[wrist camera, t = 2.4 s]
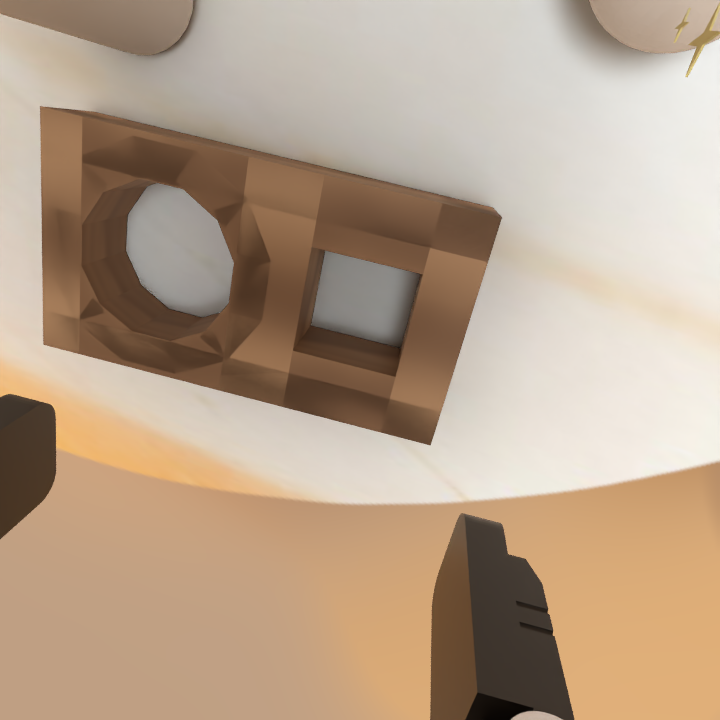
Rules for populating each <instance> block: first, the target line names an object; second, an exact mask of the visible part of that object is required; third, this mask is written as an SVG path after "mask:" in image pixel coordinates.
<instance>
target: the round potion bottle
mask: <svg viewBox="0 0 720 720" xmlns="http://www.w3.org/2000/svg"><path fill="white" fill-rule="evenodd" d="M589 2H590V5H591V8H592V10H593V12H594V14H595V16H596V18H597V19H598V21H599V22H600V23H601V25H602V26H603V27H604V29H605V30H606V31H607V32H608V33H609V34H610V35H611V36H612V37H614V38H615V39H617V40H618V41H619V42H621V43H623V44H625V45H627V46H629V47H631V48H634V49H637V50H641V51H644V52H650V53H676V52H681V51H687V50H691V49H695V48H696V51H695V53H694V56H693V58H692V61H691V63H690V66H689V69H688V71H687V74H686V76H685V77H688V75H689V73H690V72H691V70H692V68H693V66H694V64H695V62H696V60H697V59H698V57H699V55H700V53H701V51H702V49H703V47H704V46H705V45H706V44H709V43H711V42H713V41H715V40H717V39H719V38H720V0H589Z"/></svg>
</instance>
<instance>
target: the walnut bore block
mask: <svg viewBox="0 0 720 720" xmlns="http://www.w3.org/2000/svg"><path fill="white" fill-rule="evenodd" d="M40 124H41V196H42V268H43V341H44V345H47V346H51V347H55V348H59V349H63V350H66V351H70V352H74V353H78V354H82V355H86V356H90V357H93V358H97V359H101V360H105V361H109V362H113V363H116V364H120V365H124V366H128V367H132V368H136V369H139V370H143V371H147V372H151V373H155V374H159V375H162V376H166V377H170V378H174V379H178V380H182V381H186V382H189V383H193V384H197V385H201V386H205V387H209V388H212V389H216V390H220V391H224V392H228V393H232V394H235V395H239V396H243V397H247V398H251V399H255V400H259V401H262V402H266V403H270V404H274V405H278V406H282V407H285V408H289V409H293V410H297V411H301V412H305V413H308V414H312V415H316V416H320V417H324V418H328V419H331V420H335V421H339V422H343V423H347V424H351V425H355V426H358V427H362V428H366V429H370V430H374V431H378V432H381V433H385V434H389V435H393V436H397V437H401V438H404V439H408V440H412V441H416V442H420V443H424V444H427V445H431V442H432V439H433V436H434V432H435V429H436V426H437V423H438V420H439V416H440V413H441V410H442V407H443V404H444V401H445V397H446V394H447V391H448V388H449V385H450V381H451V378H452V375H453V372H454V369H455V365H456V362H457V359H458V356H459V353H460V349H461V346H462V343H463V340H464V337H465V333H466V330H467V327H468V324H469V321H470V318H471V314H472V311H473V308H474V305H475V302H476V298H477V295H478V292H479V289H480V286H481V282H482V279H483V276H484V273H485V270H486V266H487V263H488V260H489V257H490V254H491V250H492V247H493V244H494V241H495V238H496V235H497V231H498V228H499V225H500V222H501V219H502V217H501V216H500V215H499V214H498V213H497V212H496V211H495V209H494V208H492V207H488V206H484V205H480V204H476V203H471V202H467V201H463V200H459V199H455V198H451V197H446V196H442V195H438V194H434V193H430V192H426V191H421V190H417V189H413V188H409V187H405V186H401V185H396V184H392V183H388V182H384V181H380V180H376V179H371V178H367V177H363V176H359V175H355V174H351V173H346V172H342V171H338V170H334V169H330V168H326V167H321V166H317V165H313V164H309V163H305V162H301V161H296V160H292V159H288V158H284V157H280V156H276V155H271V154H267V153H263V152H259V151H255V150H251V149H246V148H242V147H238V146H234V145H230V144H226V143H222V142H217V141H213V140H209V139H205V138H201V137H197V136H192V135H188V134H184V133H180V132H176V131H172V130H167V129H163V128H159V127H155V126H151V125H147V124H142V123H138V122H134V121H130V120H126V119H122V118H117V117H113V116H109V115H105V114H101V113H97V112H90V111H81V110H71V109H61V108H51V107H42V106H40ZM155 183H161V184H165V185H169V186H173V187H177V188H181V189H184V190H185V191H186V192H187V193H188V194H189V195H190V196H191V197H192V198H193V199H195V200H196V201H197V202H198V203H199V204H200V205H201V206H202V207H203V208H204V209H206V210H207V211H208V212H209V213H210V214H211V215H212V216H213V217H214V218H215V219H217V220H218V223H219V225H220V228H221V231H222V233H223V236H224V238H225V241H226V243H227V246H228V249H229V251H230V254H231V256H232V259H233V261H234V267H233V275H232V283H231V290H230V298H229V304H228V305H227V306H226V307H225V308H224V309H223V311H222V312H221V313H217V314H214V315H210V316H207V317H203V318H201V317H197V316H194V315H190V314H186V313H182V312H178V311H174V310H170V309H168V308H167V307H166V306H165V305H163V304H162V303H161V302H160V301H159V300H158V299H156V298H155V297H154V296H153V295H152V294H151V293H149V292H148V291H147V290H146V289H145V288H144V287H142V286H141V284H140V282H139V280H138V277H137V275H136V273H135V271H134V269H133V266H132V264H131V262H130V260H129V258H128V255H127V253H126V232H127V215H128V213H129V212H130V210H131V209H132V207H133V206H134V204H135V203H136V201H137V200H138V199H139V197H140V196H141V194H142V193H143V191H144V190H145V188H146V187H147V186H149V185H152V184H155ZM325 250H326V251H330V252H334V253H338V254H342V255H346V256H350V257H354V258H358V259H362V260H366V261H370V262H374V263H378V264H383V265H387V266H391V267H395V268H399V269H403V270H407V271H411V272H415V273H419V274H421V275H420V278H419V282H418V286H417V290H416V293H415V297H414V301H413V305H412V308H411V312H410V316H409V320H408V323H407V327H406V331H405V335H404V338H403V342H402V346H401V348H397V347H393V346H389V345H385V344H381V343H377V342H373V341H369V340H365V339H361V338H357V337H354V336H350V335H346V334H342V333H338V332H334V331H330V330H326V329H322V328H318V327H314V326H311V321H312V316H313V310H314V305H315V300H316V295H317V290H318V284H319V279H320V274H321V269H322V264H323V258H324V253H325Z"/></svg>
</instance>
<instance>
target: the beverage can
mask: <svg viewBox="0 0 720 720" xmlns="http://www.w3.org/2000/svg"><path fill="white" fill-rule="evenodd" d="M192 12H193V0H0V14H3V15H6V16H9V17H13V18H16V19H19V20H23V21H26V22H29V23H32V24H36V25H39V26H42V27H46V28H49V29H52V30H55V31H59V32H62V33H65V34H68V35H72V36H75V37H78V38H82V39H85V40H88V41H91V42H95V43H98V44H101V45H105V46H108V47H111V48H114V49H118V50H121V51H124V52H128V53H132V54H135V55H154V54H157V53H159V52H162V51H164V50H167V49H168V48H169V47H171V46H172V45H173V44H174V43H176V42H177V41H178V40H179V39H180V37H181V36H182V34H183V33H184V31H185V30H186V28H187V27H188V24H189V21H190V18H191V15H192Z"/></svg>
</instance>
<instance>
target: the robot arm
mask: <svg viewBox="0 0 720 720" xmlns="http://www.w3.org/2000/svg"><path fill="white" fill-rule="evenodd" d="M55 474H56V417H55V411H54V408H53V407H52V406H51V405H50V404H47V403H43V402H39V401H36V400H32V399H28V398H24V397H20V396H17V395H13V394H8V395H4V396H2V397H0V539H1V538H2V537H3V536H4V535H5V534H7V533H8V532H9V531H10V530H11V529H12V528H13V527H14V526H16V525H17V524H18V523H19V522H20V521H21V520H22V519H23V518H24V517H25V516H27V515H28V514H29V513H30V512H31V511H32V510H33V509H34V508H36V507H37V506H38V505H39V504H40V503H41V502H42V501H43V500H44V499H45V497H46V496H47V494H48V493H49V491H50V489H51V487H52V485H53V482H54V479H55ZM547 612H548V607H547V603H546V598H545V594H544V590H543V585H542V583H541V582H540V580H539V578H538V577H537V575H536V574H535V573H534V571H533V569H532V568H531V566H530V565H529V563H528V562H527V560H526V559H524V558H520V557H516V556H512V555H509V554H508V553H507V546H506V541H505V535H504V529H503V526H502V524H501V523H498V522H494V521H490V520H486V519H482V518H479V517H475V516H471V515H467V514H461V515H460V516H459V518H458V520H457V522H456V525H455V528H454V531H453V534H452V537H451V539H450V542H449V545H448V548H447V551H446V553H445V556H444V559H443V562H442V565H441V568H440V570H439V573H438V577H437V580H436V585H435V589H434V595H433V602H432V640H431V642H432V643H431V716H430V720H574V716H573V711H572V707H571V704H570V699H569V695H568V690H567V686H566V682H565V678H564V674H563V669H562V666H561V661H560V657H559V653H558V648H557V644H556V640H555V637H554V636H553V627H552V624H551V619H550V615H549V614H548V613H547Z"/></svg>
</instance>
